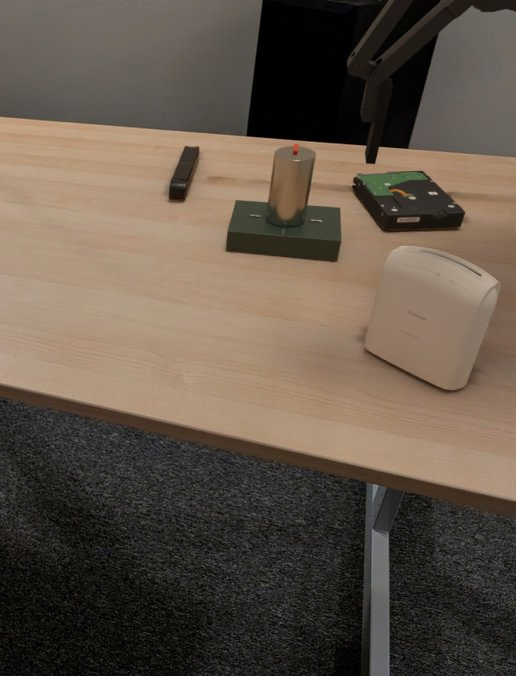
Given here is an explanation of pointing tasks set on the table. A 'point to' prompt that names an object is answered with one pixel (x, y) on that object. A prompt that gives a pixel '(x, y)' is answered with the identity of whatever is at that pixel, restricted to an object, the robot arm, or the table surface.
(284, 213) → the dial
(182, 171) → the black bar
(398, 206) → the disk drive
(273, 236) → the green base plate
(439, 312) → the photo printer
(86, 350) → the table surface
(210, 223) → the table surface
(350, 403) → the table surface
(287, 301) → the table surface
